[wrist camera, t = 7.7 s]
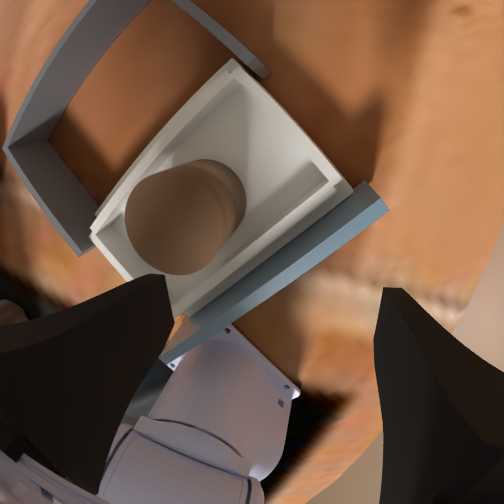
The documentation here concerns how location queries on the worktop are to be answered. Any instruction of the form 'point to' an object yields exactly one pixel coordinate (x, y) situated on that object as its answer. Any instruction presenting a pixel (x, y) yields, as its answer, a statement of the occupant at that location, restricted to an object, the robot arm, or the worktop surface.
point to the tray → (257, 208)
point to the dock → (57, 99)
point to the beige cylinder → (184, 215)
